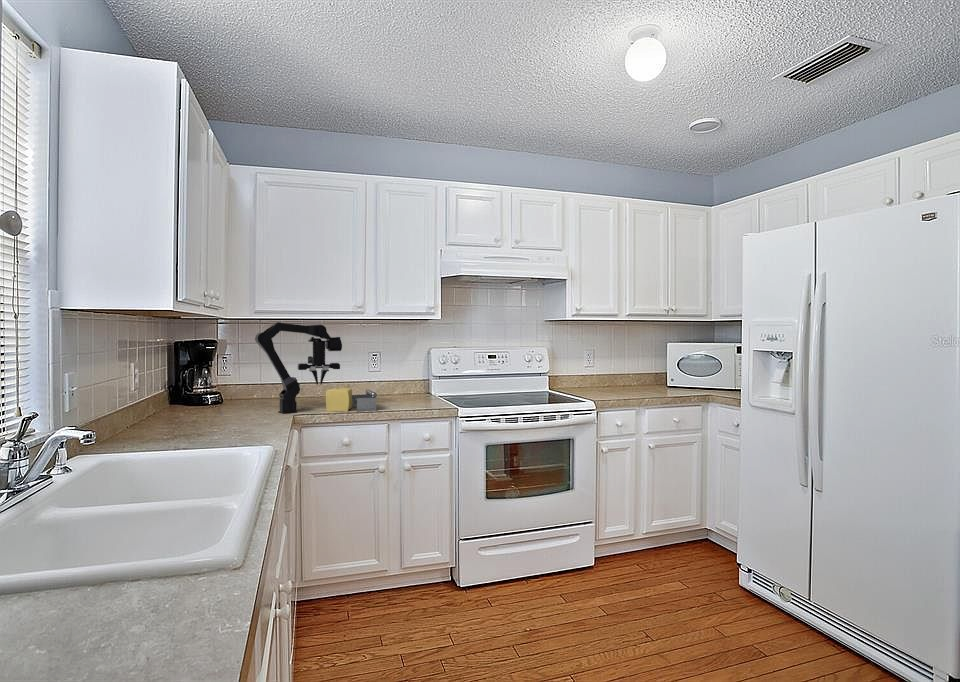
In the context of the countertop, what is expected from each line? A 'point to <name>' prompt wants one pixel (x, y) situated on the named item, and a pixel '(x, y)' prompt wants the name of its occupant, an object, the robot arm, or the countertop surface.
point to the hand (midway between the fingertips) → (319, 384)
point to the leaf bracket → (365, 401)
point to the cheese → (339, 399)
